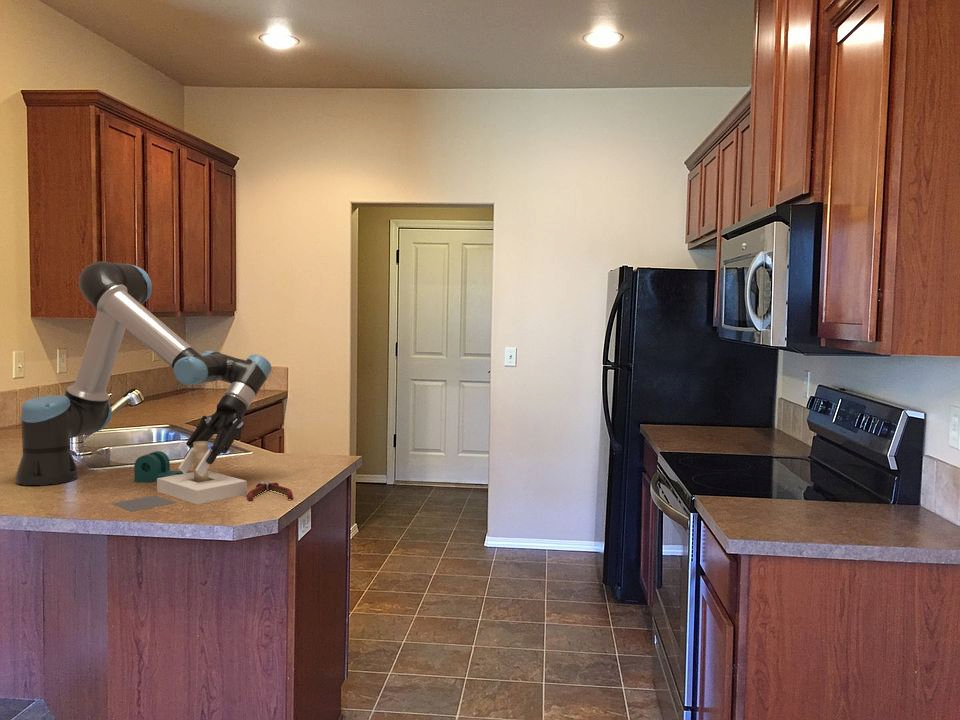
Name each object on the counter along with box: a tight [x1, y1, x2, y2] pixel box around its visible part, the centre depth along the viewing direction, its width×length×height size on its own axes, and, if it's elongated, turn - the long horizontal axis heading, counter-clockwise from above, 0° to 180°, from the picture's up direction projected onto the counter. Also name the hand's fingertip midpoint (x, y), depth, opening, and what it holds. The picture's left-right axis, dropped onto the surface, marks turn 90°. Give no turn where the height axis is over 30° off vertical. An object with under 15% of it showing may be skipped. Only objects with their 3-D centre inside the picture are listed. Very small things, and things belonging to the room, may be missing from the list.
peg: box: [193, 441, 209, 483], centre depth 188 cm, size 4×4×14 cm
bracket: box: [133, 450, 194, 483], centre depth 203 cm, size 18×7×8 cm, turn 84°
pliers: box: [246, 480, 294, 502], centre depth 191 cm, size 12×20×3 cm, turn 20°
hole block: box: [156, 470, 248, 506], centre depth 188 cm, size 20×14×4 cm
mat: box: [111, 494, 177, 513], centre depth 177 cm, size 11×11×1 cm
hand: (190, 471), depth 184 cm, fingers open, 5 cm apart
